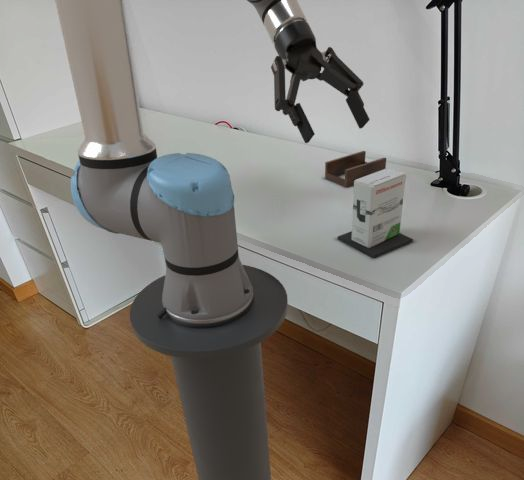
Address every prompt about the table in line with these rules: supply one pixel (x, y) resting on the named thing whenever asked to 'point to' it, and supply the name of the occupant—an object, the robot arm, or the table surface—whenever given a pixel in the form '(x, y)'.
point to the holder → (352, 168)
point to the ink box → (377, 207)
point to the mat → (379, 248)
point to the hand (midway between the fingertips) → (338, 131)
